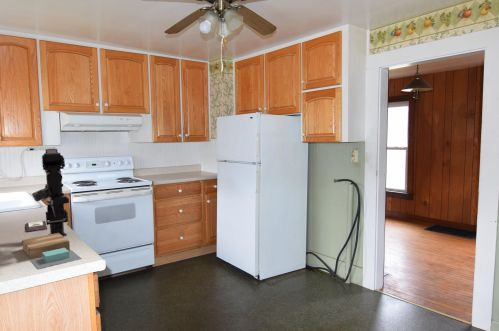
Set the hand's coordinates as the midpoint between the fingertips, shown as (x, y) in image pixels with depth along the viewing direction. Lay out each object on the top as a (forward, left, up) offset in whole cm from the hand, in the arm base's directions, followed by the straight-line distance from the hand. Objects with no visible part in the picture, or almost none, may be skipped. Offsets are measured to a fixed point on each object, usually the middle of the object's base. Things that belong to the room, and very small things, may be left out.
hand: (56, 217), depth 154 cm
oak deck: (+5, -6, -12) cm, 14 cm away
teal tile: (+19, -6, -11) cm, 23 cm away
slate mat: (+20, -6, -12) cm, 24 cm away
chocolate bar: (-39, -1, -13) cm, 41 cm away
